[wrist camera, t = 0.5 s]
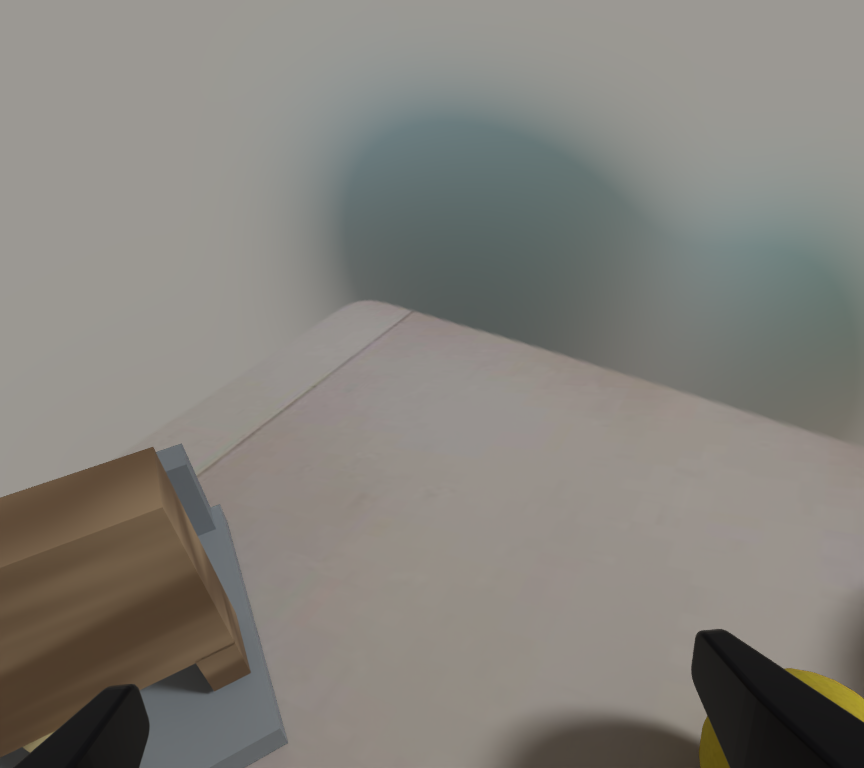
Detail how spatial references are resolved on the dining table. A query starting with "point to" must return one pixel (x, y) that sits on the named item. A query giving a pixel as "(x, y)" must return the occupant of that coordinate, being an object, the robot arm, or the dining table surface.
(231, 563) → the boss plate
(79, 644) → the panel
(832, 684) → the lemon
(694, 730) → the dining table surface
